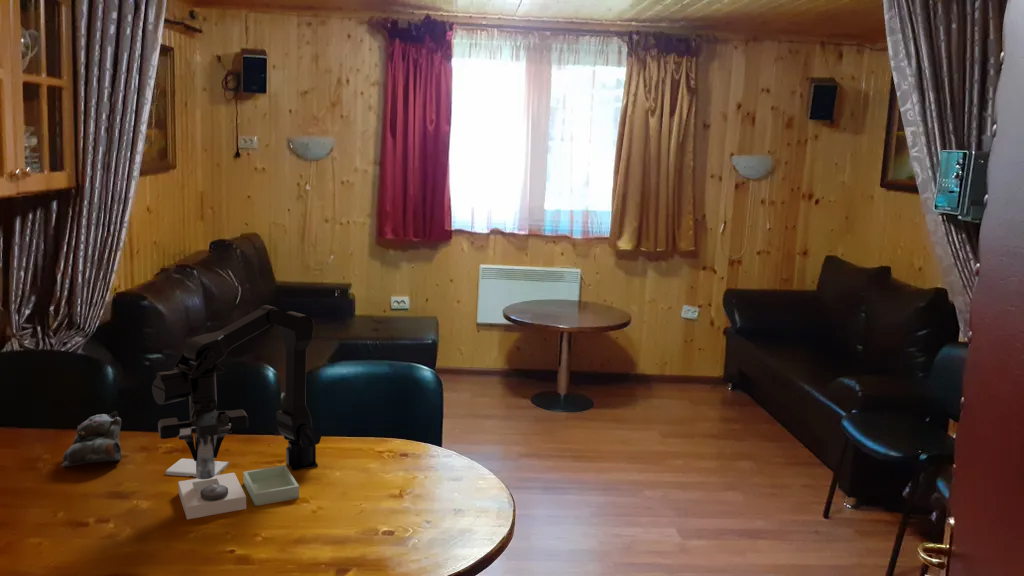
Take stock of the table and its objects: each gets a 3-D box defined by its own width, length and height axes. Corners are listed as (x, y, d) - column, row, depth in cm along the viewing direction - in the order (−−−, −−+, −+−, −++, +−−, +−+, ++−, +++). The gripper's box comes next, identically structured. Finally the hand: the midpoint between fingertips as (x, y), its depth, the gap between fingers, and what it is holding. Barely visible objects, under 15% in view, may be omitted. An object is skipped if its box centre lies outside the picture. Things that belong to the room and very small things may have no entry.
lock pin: (213, 470, 188) (212, 430, 186) (216, 477, 185) (215, 436, 183) (195, 473, 186) (193, 432, 184) (197, 480, 183) (196, 438, 181)
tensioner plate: (234, 484, 194) (234, 463, 193) (246, 508, 182) (245, 486, 181) (178, 493, 188) (177, 471, 187) (186, 519, 176) (186, 496, 175)
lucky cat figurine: (49, 468, 198) (55, 411, 203) (92, 470, 209) (97, 417, 213) (92, 462, 192) (97, 404, 197) (134, 465, 203) (138, 410, 207)
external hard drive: (182, 463, 206) (229, 467, 205) (165, 477, 198) (214, 480, 197) (182, 457, 205) (229, 461, 204) (165, 470, 197) (214, 474, 196)
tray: (285, 476, 199) (285, 465, 199) (299, 497, 188) (298, 485, 187) (243, 483, 194) (243, 471, 194) (255, 506, 183) (254, 493, 183)
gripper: (161, 410, 170) (164, 479, 173) (252, 399, 179) (254, 465, 182) (156, 394, 180) (159, 460, 183) (243, 385, 189) (244, 448, 192)
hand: (205, 459), depth 185 cm, fingers closed on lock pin, 4 cm apart
